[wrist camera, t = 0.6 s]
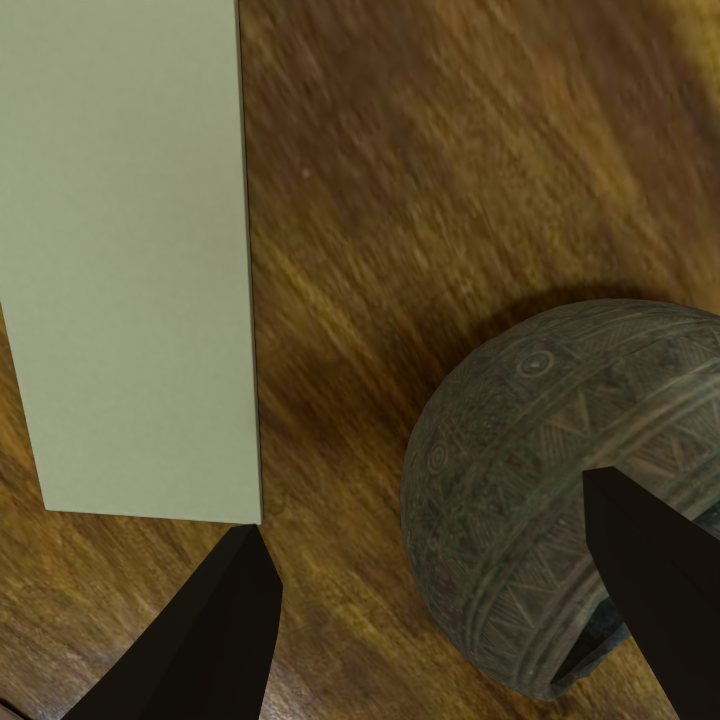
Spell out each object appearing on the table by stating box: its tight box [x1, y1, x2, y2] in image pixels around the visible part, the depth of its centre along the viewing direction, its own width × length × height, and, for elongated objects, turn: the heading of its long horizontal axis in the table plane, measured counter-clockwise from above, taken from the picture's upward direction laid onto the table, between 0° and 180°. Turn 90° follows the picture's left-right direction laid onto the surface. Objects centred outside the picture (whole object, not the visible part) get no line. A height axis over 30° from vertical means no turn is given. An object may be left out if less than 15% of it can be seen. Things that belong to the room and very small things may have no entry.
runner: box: [0, 0, 264, 525], centre depth 17 cm, size 44×12×1 cm, turn 179°
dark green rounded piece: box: [399, 299, 720, 702], centre depth 16 cm, size 15×15×10 cm
